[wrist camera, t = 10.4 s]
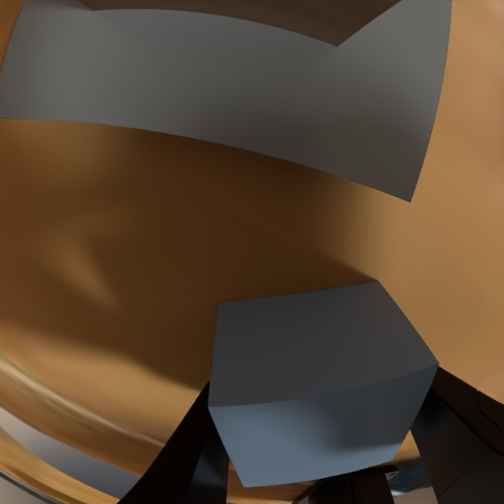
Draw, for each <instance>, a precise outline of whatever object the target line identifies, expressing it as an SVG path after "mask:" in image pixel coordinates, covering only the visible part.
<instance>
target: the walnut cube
mask: <svg viewBox="0 0 504 504" xmlns="http://www.w3.org/2000/svg"><path fill="white" fill-rule="evenodd" d="M77 1H79V2H80V3H82V4H83V5H85V6H86V7H88V8H89V9H91V10H92V11H99V10H116V9H158V10H175V11H187V12H197V13H205V14H213V15H219V16H226V17H231V18H237V19H242V20H247V21H252V22H256V23H261V24H265V25H269V26H273V27H277V28H281V29H284V30H288V31H292V32H295V33H298V34H302V35H305V36H308V37H311V38H314V39H317V40H320V41H323V42H325V43H328V44H331V45H334V46H336V47H338V46H339V45H341V44H342V43H343V42H345V41H346V40H347V39H348V38H350V37H351V36H352V35H354V34H355V33H356V32H358V31H359V30H360V29H362V28H363V27H364V26H366V25H367V24H368V23H370V22H371V21H373V20H374V19H375V18H377V17H378V16H380V15H381V14H382V13H384V12H385V11H387V10H388V9H390V8H391V7H393V6H394V5H396V4H397V3H399V2H400V1H402V0H77Z"/></svg>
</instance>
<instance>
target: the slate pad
mask: <svg viewBox="0 0 504 504" xmlns="http://www.w3.org/2000/svg"><path fill="white" fill-rule="evenodd" d="M451 7H452V0H402V1H400V2H399V3H397V4H396V5H394V6H393V7H391V8H390V9H388V10H387V11H385V12H384V13H382V14H381V15H380V16H378V17H377V18H375V19H374V20H373V21H371V22H370V23H368V24H367V25H366V26H364V27H363V28H362V29H360V30H359V31H358V32H356V33H355V34H354V35H352V36H351V37H350V38H348V39H347V40H346V41H345V42H343V43H342V44H341V45H339V46H338V47H336V46H334V45H331V44H328V43H325V42H323V41H320V40H317V39H314V38H311V37H308V36H305V35H302V34H298V33H295V32H292V31H288V30H284V29H281V28H277V27H273V26H269V25H265V24H261V23H256V22H252V21H247V20H242V19H237V18H231V17H226V16H219V15H213V14H205V13H197V12H187V11H175V10H158V9H116V10H99V11H92V10H91V9H89V8H88V7H86V6H85V5H83V4H82V3H80V2H79V1H77V0H25V2H24V4H23V6H22V9H21V11H20V14H19V16H18V19H17V22H16V24H15V27H14V30H13V33H12V36H11V39H10V42H9V45H8V48H7V51H6V55H5V58H4V62H3V66H2V70H1V74H0V119H43V120H61V121H74V122H86V123H96V124H105V125H114V126H122V127H129V128H136V129H143V130H150V131H156V132H162V133H168V134H174V135H179V136H184V137H190V138H195V139H200V140H205V141H209V142H214V143H219V144H223V145H228V146H232V147H236V148H241V149H245V150H249V151H253V152H257V153H261V154H265V155H268V156H272V157H276V158H280V159H283V160H287V161H290V162H294V163H297V164H301V165H304V166H307V167H311V168H314V169H317V170H321V171H324V172H327V173H330V174H333V175H336V176H339V177H342V178H345V179H348V180H351V181H354V182H357V183H360V184H363V185H366V186H368V187H371V188H374V189H377V190H379V191H382V192H385V193H387V194H390V195H393V196H395V197H398V198H400V199H403V200H405V201H408V202H411V199H412V196H413V193H414V190H415V187H416V184H417V181H418V178H419V175H420V172H421V168H422V165H423V162H424V158H425V155H426V151H427V148H428V144H429V140H430V137H431V133H432V129H433V125H434V121H435V116H436V112H437V107H438V103H439V98H440V93H441V88H442V82H443V77H444V71H445V64H446V58H447V50H448V42H449V33H450V22H451Z"/></svg>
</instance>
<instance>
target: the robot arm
mask: <svg viewBox="0 0 504 504" xmlns="http://www.w3.org/2000/svg"><path fill="white" fill-rule="evenodd" d="M209 389H210V381H208V382H207V384H206V385H205V387H204V388H203V390H202V391H201V393H200V394H199V396H198V397H197V399H196V400H195V402H194V403H193V405H192V406H191V408H190V409H189V411H188V412H187V414H186V415H185V417H184V418H183V420H182V421H181V423H180V424H179V426H178V427H177V428H176V430H175V431H174V433H173V434H172V436H171V437H170V439H169V440H168V442H167V443H166V444H165V446H164V447H163V449H162V450H161V452H160V453H159V454H158V456H157V458H155V460H154V461H153V463H152V464H151V466H150V467H149V468H148V470H147V471H146V472H145V473H144V475H143V476H142V477H141V478H140V480H139V481H138V482H137V483H136V484H135V485H134V486H133V487H132V488H131V490H130V491H129V492H128V493H127V494H126V495H125V496H124V497H123V498H122V499H121V500H120V501H119V502H118V503H117V504H226V497H227V482H228V467H229V455H228V453H227V451H226V449H225V446H224V444H223V442H222V440H221V437H220V435H219V433H218V430H217V428H216V426H215V423H214V421H213V419H212V416H211V414H210V411H209V409H208V400H209ZM410 430H411V433H412V435H413V438H414V440H415V442H416V445H417V447H418V450H419V452H420V455H421V457H422V460H423V463H424V465H425V468H426V470H427V473H428V476H429V478H430V481H431V484H432V487H433V489H434V492H435V495H436V497H437V501H438V504H504V404H502V403H500V402H498V401H496V400H494V399H492V398H491V397H489V396H487V395H485V394H484V393H482V392H481V391H477V389H475V388H474V387H472V386H471V385H469V384H467V383H466V382H464V381H462V380H461V379H459V378H457V377H456V376H454V375H452V374H451V373H449V372H448V371H446V370H444V369H443V368H441V367H439V366H438V368H437V371H436V373H435V376H434V378H433V381H432V383H431V386H430V388H429V390H428V392H427V395H426V397H425V399H424V401H423V404H422V406H421V408H420V410H419V412H418V414H417V416H416V418H415V420H414V422H413V424H412V426H411V428H410ZM398 472H399V470H398V467H394V468H389V469H383V470H378V471H372V472H365V473H358V474H349V475H340V476H331V477H326V478H323V479H321V480H320V481H319V482H318V483H317V484H315V485H314V486H313V487H312V488H311V489H309V490H308V491H307V492H305V493H304V494H303V495H302V496H300V497H299V498H298V499H296V500H295V501H294V502H292V504H394V500H393V497H392V494H391V491H390V487H389V484H388V480H389V479H391V478H392V477H393V476H395V475H396V474H397V473H398Z"/></svg>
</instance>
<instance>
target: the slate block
mask: <svg viewBox="0 0 504 504" xmlns="http://www.w3.org/2000/svg"><path fill="white" fill-rule="evenodd" d="M438 366H439V362H438V361H437V359H436V358H435V356H434V355H433V353H432V352H431V351H430V349H429V348H428V346H427V345H426V343H425V342H424V341H423V339H422V338H421V336H420V335H419V334H418V332H417V331H416V329H415V328H414V327H413V325H412V324H411V323H410V321H409V320H408V319H407V317H406V316H405V315H404V313H403V312H402V311H401V309H400V308H399V307H398V305H397V304H396V303H395V301H394V300H393V299H392V298H391V296H390V295H389V294H388V292H387V291H386V290H385V289H384V287H383V286H382V285H381V283H380V282H379V281H374V282H368V283H362V284H356V285H350V286H344V287H338V288H331V289H325V290H318V291H311V292H304V293H297V294H290V295H283V296H275V297H268V298H260V299H252V300H243V301H235V302H226V303H219V305H218V314H217V322H216V331H215V340H214V350H213V359H212V369H211V379H210V389H209V400H208V409H209V411H210V414H211V416H212V419H213V421H214V423H215V426H216V428H217V430H218V433H219V435H220V437H221V440H222V442H223V444H224V446H225V449H226V451H227V453H228V455H229V457H230V459H231V462H232V464H233V466H234V468H235V470H236V472H237V474H238V476H239V478H240V480H241V482H242V484H243V486H244V487H259V486H271V485H281V484H289V483H296V482H303V481H309V480H315V479H321V478H326V477H331V476H335V475H340V474H344V473H349V472H353V471H357V470H360V469H364V468H368V467H371V466H375V465H378V464H381V463H385V462H388V461H391V460H393V458H394V456H395V455H396V453H397V451H398V450H399V448H400V446H401V444H402V443H403V441H404V439H405V437H406V435H407V433H408V432H409V430H410V428H411V426H412V424H413V422H414V420H415V418H416V416H417V414H418V412H419V410H420V408H421V406H422V404H423V401H424V399H425V397H426V395H427V392H428V390H429V388H430V386H431V383H432V381H433V378H434V376H435V373H436V371H437V368H438Z"/></svg>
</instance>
